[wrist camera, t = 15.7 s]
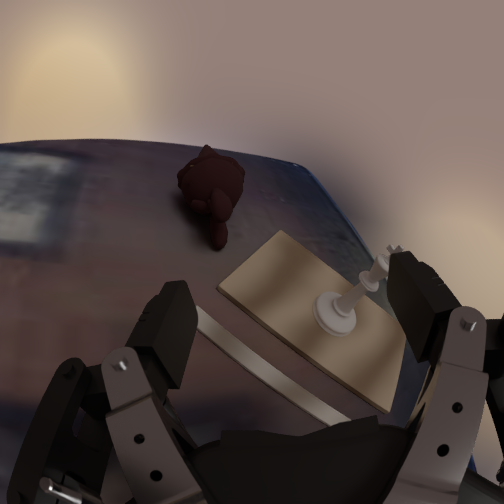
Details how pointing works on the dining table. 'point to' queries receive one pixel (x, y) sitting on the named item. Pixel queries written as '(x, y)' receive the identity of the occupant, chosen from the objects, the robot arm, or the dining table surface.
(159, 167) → the dining table surface
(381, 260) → the chess piece
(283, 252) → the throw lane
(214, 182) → the dark brown lumpy figurine
